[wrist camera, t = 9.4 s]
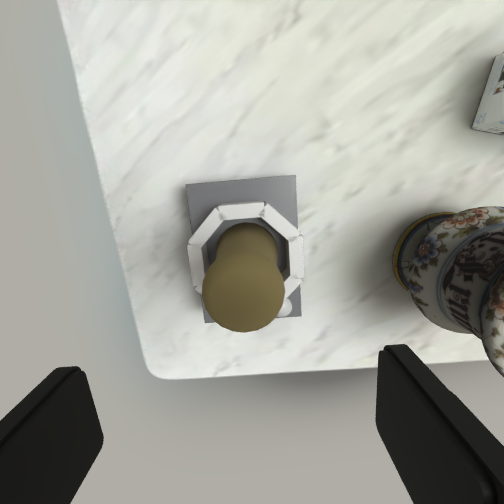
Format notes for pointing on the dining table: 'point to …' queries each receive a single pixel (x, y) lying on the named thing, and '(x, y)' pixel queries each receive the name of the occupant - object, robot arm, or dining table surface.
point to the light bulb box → (492, 101)
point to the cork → (244, 279)
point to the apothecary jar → (458, 273)
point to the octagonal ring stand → (254, 211)
